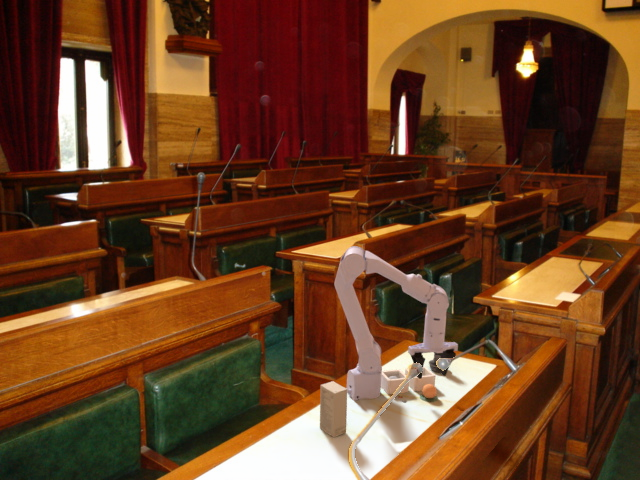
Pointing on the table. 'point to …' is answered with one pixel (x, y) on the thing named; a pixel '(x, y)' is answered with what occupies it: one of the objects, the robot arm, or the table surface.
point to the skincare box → (333, 408)
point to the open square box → (393, 381)
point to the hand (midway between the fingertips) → (430, 375)
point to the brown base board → (423, 399)
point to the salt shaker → (433, 362)
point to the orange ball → (429, 391)
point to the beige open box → (421, 380)
